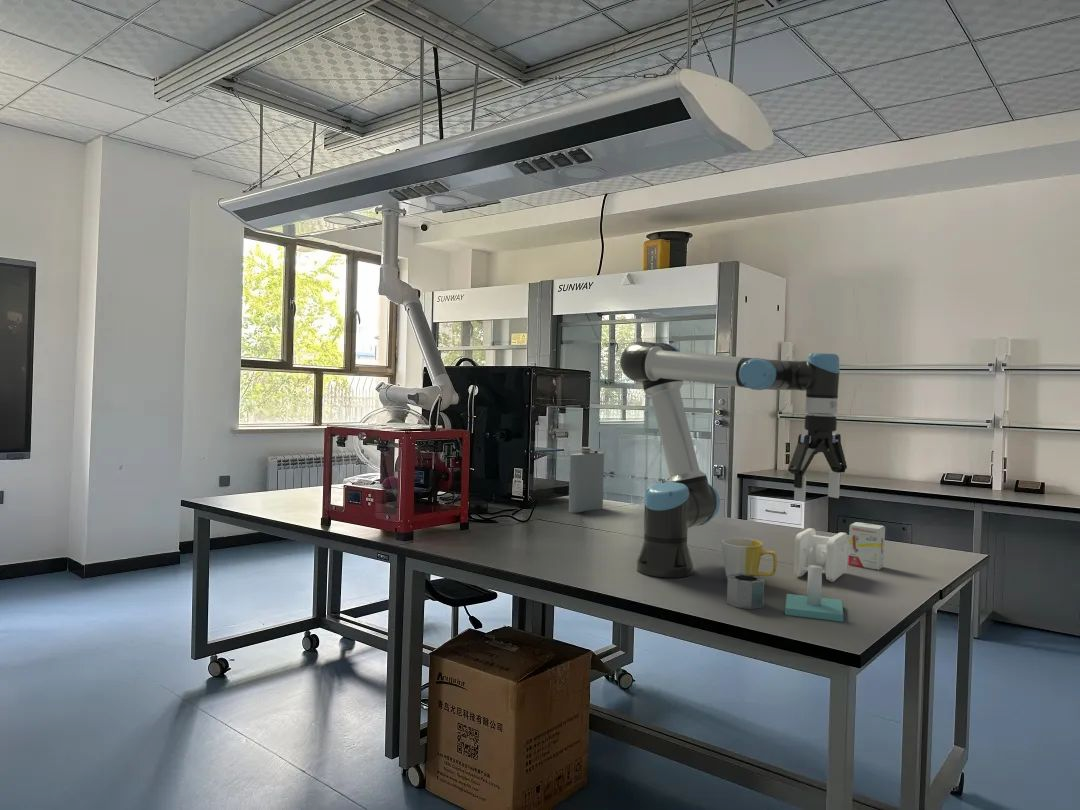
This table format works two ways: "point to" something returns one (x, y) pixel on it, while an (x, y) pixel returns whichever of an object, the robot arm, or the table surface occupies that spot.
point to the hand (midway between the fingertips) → (816, 499)
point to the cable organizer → (821, 553)
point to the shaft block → (814, 600)
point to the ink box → (866, 545)
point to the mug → (744, 556)
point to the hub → (745, 591)
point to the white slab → (586, 480)
